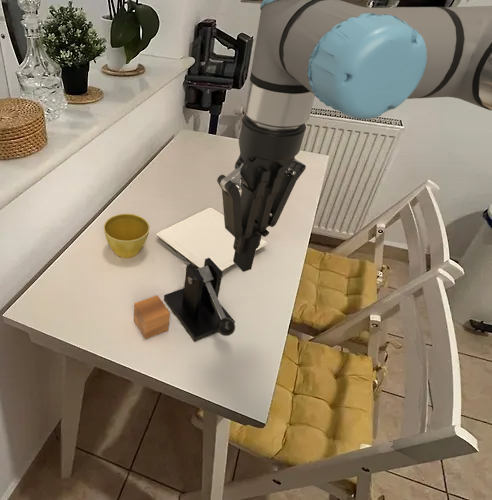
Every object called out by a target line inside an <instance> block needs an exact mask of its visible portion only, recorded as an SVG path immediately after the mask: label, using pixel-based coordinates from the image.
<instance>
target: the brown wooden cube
mask: <svg viewBox="0 0 492 500" xmlns="http://www.w3.org/2000/svg"><path fill="white" fill-rule="evenodd" d="M170 318H171V311H170V310H169V309H168V307H167V306H166V305H165V303H164V302H163V300H162V299H161V298H160V296H159V295H158V294H156V295H153V296H151V297H147V298H145V299H142V300H139V301H136V302H134V303H133V322H134V323H135V326H137V328H138V330H139V331H140V333H141V335H142V336H143V338H144V339H145V340H146V339H150V338H152V337H155V336H158V335H159V334H163V333H164V332H168V331H169V328H170Z"/></svg>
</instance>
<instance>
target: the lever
mask: <svg viewBox="0 0 492 500" xmlns="http://www.w3.org/2000/svg"><path fill="white" fill-rule="evenodd" d="M196 270H197V271H198V272H199V274H200V275H201V276H202V277H203V278H204V281H203V285H204V287H205V290H206V292H207V294H208V296H209V299H210V301H211V303H212V306H213V308H214V310H215V312H216V315H217V317H218V319H219V322H218V323H217V330H218V332H217V333H219V335H222V336H225V337H229V336H231V335H233V334H234V332H235V331H236V324H234V322H233V321H232V320H231V319H229V318H226V316H225V314H224V312H223V309H222V307H223V306H222V304H221V303H220V301H219V297H218V298H217V296H216V294H215V291H214V289H213V287H212V285H211V281H212V280H213V279H214V278H213V276H212V274H211V271H210V269H209V267H208V265H207V266H204V267H201V268H199V267H197V268H196ZM220 304H221V305H220ZM221 306H222V307H221Z"/></svg>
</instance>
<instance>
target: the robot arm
mask: <svg viewBox="0 0 492 500" xmlns="http://www.w3.org/2000/svg"><path fill="white" fill-rule="evenodd" d="M259 9H260V13H259V14H260V15H259V20H258V27H257V33H256V34H257V35H256V38H255V45H254V50H253V51H254V52H253V58H252V64H251V69H250V76H249V80H248V86H247V92H246V98H245V102H244V107H243V108H244V109H243V111H244V114H245V115H243V117H242V119H241V120H242V121H241V125H240V131H239V136H238V147H239V156H238V158H237V160H236V161H235V162H234V169H233V170H232V171H231V172H230V173H229V174H228V175H227V176H226V175H225V174H220V175H219V176H218V177H217V179H216V182H217V184H218V186H219V187H220V189H221V195H222V206H223V215H224V221H225V229H227V230H228V231H229V232H230V233H231V234H232V235H233V236H234V237H235V240H234V245H233V248H234V250H235V254H234V259H233V262H234V265H235V266H237V268H239V270H241V271H242V272H243V273H245V272H247V271H251V270H252V268H253V263H254V259H255V255H256V251H257V250H256V248H258V247H259V245H260V241H261V239H262V238H265V237H267V236H268V235H269V234H270V231H269V230H267V228H269V227H270V228H274V227H275V226H276V225H277V223H278V221H279V219H280V217H281V215H282V213H283V211H284V208H285V206H286V204H287V202H288V200H289V198H290V197H291V196H290V195H291V194H292V192H293V190H294V187H295V185H296V183H297V181H298V180H299V178H300V177H301V175H303V173H304V172H305V170H306V168H307V166H306V164H304V163H303V162H302V161H300V160H298V159H296V156H297V155H298V154H299V153H300V151H301V148H302V144H303V140H304V137H305V134H306V130H307V124H306V123H307V122H308V121H310V117H311V113H312V109H313V106H314V102H315V99H318V100H319V102H321V103H323V104H324V105H325V106H326V107H330V108H332V109H333V110H334V111H338V112H339V113H341V114H343V115H345V116H346V117H349V118H351V119H355V120H372V119H376V118H379V117H381V116H382V115H383V114H385V113H387V112H388V111H391V110H395V109H396V108H398V107H400V106H401V105H402V104H403V103H405V102H406V100H412V99H432V98H454V99H458V100H462V101H464V102H467V103H470V104H473V106H477V107H479V108H483V109H484V110H485V109H486V110H487V111H492V5H478V6H475V5H473V6H449V7H447V6H411V7H410V6H407V7H406V6H404V7H403V6H402V7H401V6H400V7H398V6H397V7H395V6H394V7H368V6H367V7H366V6H360V5H356V4H354V3H350V2H347V1H345V0H262V1H261V3H260V7H259ZM315 97H316V98H315ZM240 189H241V190H242V192H241V196H240Z"/></svg>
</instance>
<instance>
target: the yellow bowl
mask: <svg viewBox="0 0 492 500" xmlns="http://www.w3.org/2000/svg"><path fill="white" fill-rule="evenodd" d="M103 231H104V235H105V239H106V242H107V243H108V245H109V247H110V248H111V250H112V251H113V252H114V254H115V255H117V256H118V257H119V258H121V259H132V258H134V257H135V256H137V255H138V254H139V253H140V251H141V250H142V249H143V247H144V245H145V244H146V242H147V239H148V236H149V233H150V224H149V222H148V221H147V220H146V219H145V218H144V217H142V216H140V215H137V214H134V213H133V214H132V213H120V214H115V215H113V216H111V217H109V218H108V219H106V221H105V222H104V224H103Z"/></svg>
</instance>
